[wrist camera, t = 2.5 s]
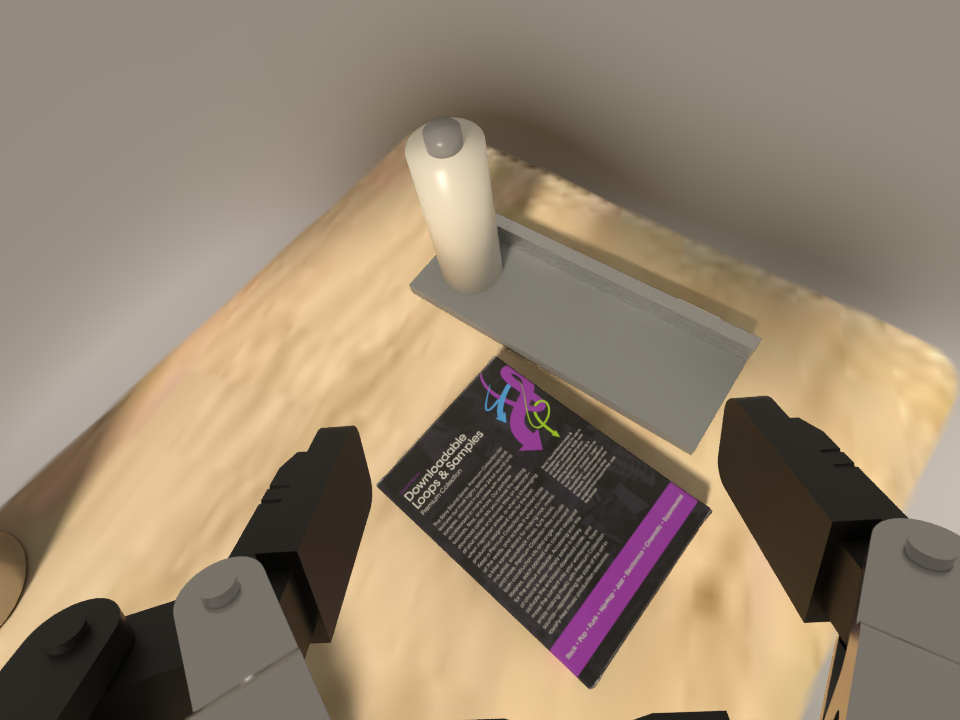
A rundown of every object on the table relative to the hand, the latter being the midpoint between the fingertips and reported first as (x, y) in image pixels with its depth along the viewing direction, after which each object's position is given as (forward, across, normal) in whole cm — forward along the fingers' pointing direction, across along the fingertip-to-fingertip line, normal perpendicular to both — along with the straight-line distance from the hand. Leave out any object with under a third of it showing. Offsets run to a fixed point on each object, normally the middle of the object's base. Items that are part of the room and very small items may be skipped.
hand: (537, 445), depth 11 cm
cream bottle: (+37, +4, +7) cm, 38 cm away
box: (+21, 0, +21) cm, 29 cm away
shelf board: (+33, -5, +11) cm, 35 cm away
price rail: (+35, -7, +8) cm, 36 cm away
